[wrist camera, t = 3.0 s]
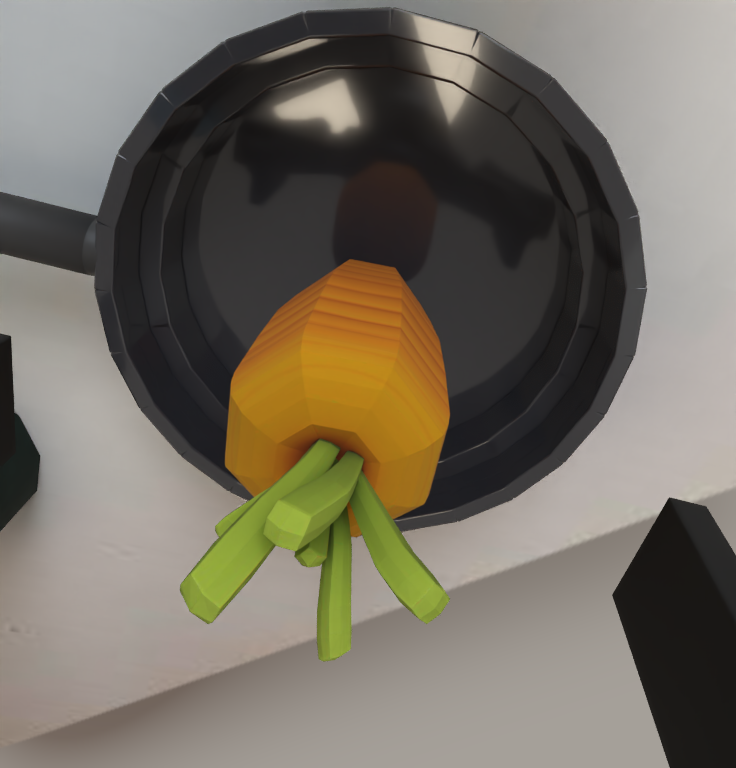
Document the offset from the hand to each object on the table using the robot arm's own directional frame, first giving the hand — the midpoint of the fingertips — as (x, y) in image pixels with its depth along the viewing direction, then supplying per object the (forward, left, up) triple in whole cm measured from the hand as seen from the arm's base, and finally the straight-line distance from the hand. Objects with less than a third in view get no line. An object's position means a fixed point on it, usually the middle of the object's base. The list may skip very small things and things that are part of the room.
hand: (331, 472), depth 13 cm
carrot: (0, 0, -11) cm, 11 cm away
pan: (0, 0, -11) cm, 11 cm away
